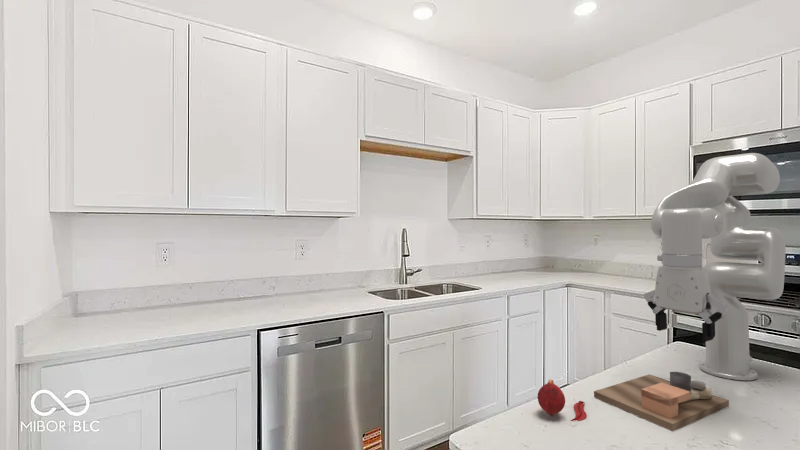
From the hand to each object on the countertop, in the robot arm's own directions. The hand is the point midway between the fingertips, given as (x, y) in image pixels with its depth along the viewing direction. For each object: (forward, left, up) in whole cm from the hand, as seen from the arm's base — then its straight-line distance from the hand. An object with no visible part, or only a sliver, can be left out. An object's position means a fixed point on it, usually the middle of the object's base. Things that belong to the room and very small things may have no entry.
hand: (683, 334), depth 89 cm
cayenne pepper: (+23, -10, -18) cm, 31 cm away
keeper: (+8, 0, -15) cm, 17 cm away
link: (-1, -1, -15) cm, 15 cm away
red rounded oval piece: (+30, -12, -17) cm, 37 cm away
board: (+2, -4, -17) cm, 18 cm away
